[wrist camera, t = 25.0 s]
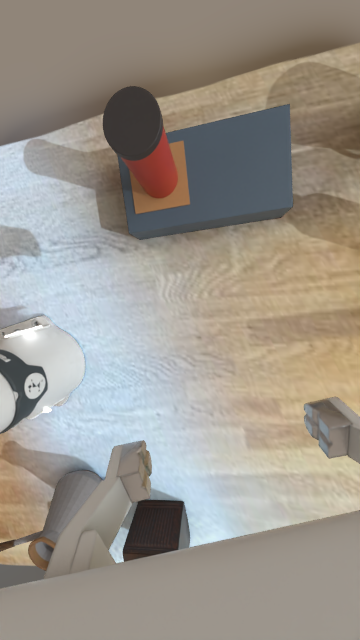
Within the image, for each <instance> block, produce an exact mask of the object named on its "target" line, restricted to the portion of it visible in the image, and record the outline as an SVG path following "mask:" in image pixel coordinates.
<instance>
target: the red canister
mask: <svg viewBox="0 0 360 640" xmlns="http://www.w3.org/2000/svg"><path fill="white" fill-rule="evenodd" d="M103 130H104V135H105V138H106V140H107V142H108V143H109V145H110V146H111V148H112V149H113V150H114V152H115V153H116V154H117V155H119V156H120V157H121V159H122V160H123V161H124V163H125V164H126V165H127V167H128V168H129V169H130V171H131V172H132V174H133V175H134V176H135V178H136V179H137V180H138V182H139V183H140V184H141V186H142V187H143V189H144V190H145V191H146V192H147V193H148V194H149V195H150V196H152V197H154V198H164V197H167V196H168V195H170V194H171V193H172V192H173V191H174V189H175V187H176V185H177V182H178V172H177V168H176V165H175V162H174V159H173V156H172V152H171V149H170V146H169V143H168V140H167V136H166V133H165V130H164V127H163V119H162V115H161V111H160V108H159V105H158V103H157V101H156V99H155V98H154V97H153V96H152V94H151V93H150V92H148V91H147V90H145V89H143V88H141V87H136V86H130V87H126V88H123V89H121V90H119V91H118V92H117V93H115V94H114V95H113V96H112V98H111V99H110V100H109V102H108V104H107V106H106V108H105V111H104V115H103Z"/></svg>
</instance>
